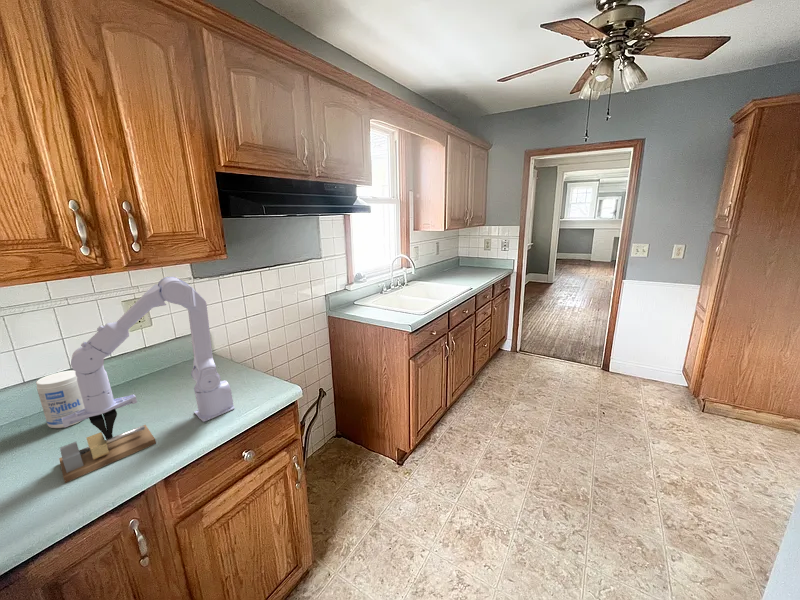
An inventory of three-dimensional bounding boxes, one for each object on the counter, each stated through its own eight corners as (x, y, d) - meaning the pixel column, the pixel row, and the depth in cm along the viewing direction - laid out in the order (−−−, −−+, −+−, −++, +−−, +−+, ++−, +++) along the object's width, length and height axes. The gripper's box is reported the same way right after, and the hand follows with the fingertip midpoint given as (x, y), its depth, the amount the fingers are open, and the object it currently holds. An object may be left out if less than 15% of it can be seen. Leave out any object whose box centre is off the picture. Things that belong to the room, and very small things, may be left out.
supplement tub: (55, 433, 96) (40, 388, 92) (43, 424, 100) (28, 380, 97) (97, 415, 104) (85, 373, 100) (84, 408, 109) (72, 367, 105)
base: (146, 428, 97) (142, 414, 96) (156, 443, 91) (152, 427, 90) (60, 463, 84) (55, 446, 83) (65, 483, 78) (59, 465, 76)
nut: (104, 441, 89) (101, 432, 88) (109, 453, 84) (106, 443, 84) (89, 447, 87) (86, 437, 86) (93, 459, 82) (90, 449, 81)
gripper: (128, 376, 93) (138, 418, 96) (55, 397, 82) (69, 444, 86) (134, 384, 88) (144, 428, 92) (57, 408, 78) (73, 456, 81)
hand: (108, 436), depth 89 cm, fingers closed
